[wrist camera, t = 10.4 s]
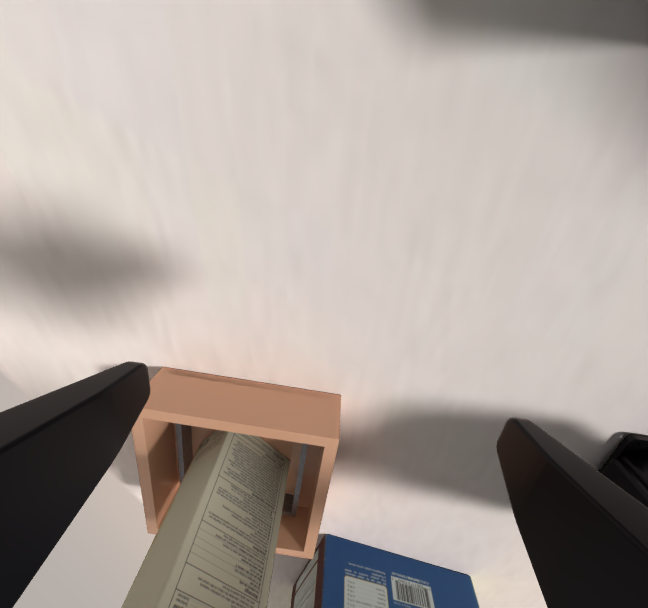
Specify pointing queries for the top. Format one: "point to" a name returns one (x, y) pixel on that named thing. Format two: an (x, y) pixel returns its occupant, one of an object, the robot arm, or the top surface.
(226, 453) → the skincare box
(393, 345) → the top surface
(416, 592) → the protein box
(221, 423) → the wooden cubby frame
